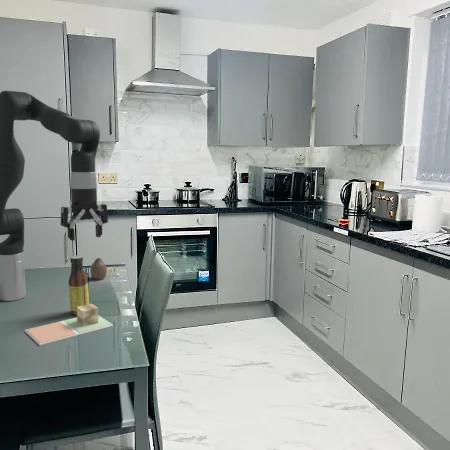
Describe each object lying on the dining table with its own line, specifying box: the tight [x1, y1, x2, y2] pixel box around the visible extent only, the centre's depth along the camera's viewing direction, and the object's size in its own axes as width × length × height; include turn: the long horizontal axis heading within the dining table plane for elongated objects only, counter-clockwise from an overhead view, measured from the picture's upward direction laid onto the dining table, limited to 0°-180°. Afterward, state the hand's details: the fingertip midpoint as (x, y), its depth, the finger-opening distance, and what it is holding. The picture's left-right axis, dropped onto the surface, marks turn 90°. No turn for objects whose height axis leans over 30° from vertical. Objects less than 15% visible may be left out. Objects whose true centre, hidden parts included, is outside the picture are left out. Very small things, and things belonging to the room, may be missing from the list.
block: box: [76, 303, 99, 326], centre depth 143 cm, size 5×5×5 cm
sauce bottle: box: [68, 255, 90, 316], centre depth 152 cm, size 7×6×20 cm
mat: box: [24, 314, 114, 346], centre depth 140 cm, size 13×23×1 cm, turn 131°
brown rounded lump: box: [89, 257, 108, 281], centre depth 192 cm, size 7×7×9 cm
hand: (85, 238), depth 139 cm, fingers open, 8 cm apart
